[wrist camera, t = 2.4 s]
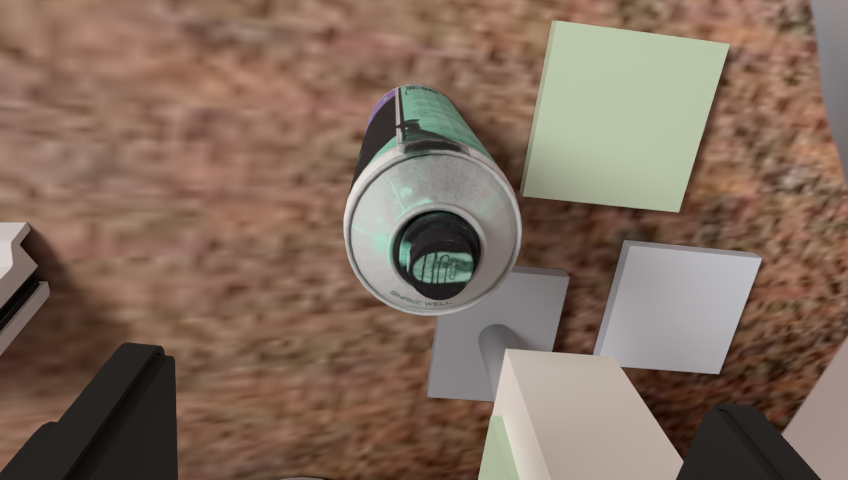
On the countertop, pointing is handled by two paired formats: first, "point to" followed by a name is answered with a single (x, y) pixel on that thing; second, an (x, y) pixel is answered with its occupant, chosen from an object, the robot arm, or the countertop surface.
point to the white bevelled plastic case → (17, 283)
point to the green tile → (619, 116)
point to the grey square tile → (675, 306)
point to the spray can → (428, 208)
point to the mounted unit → (545, 391)
